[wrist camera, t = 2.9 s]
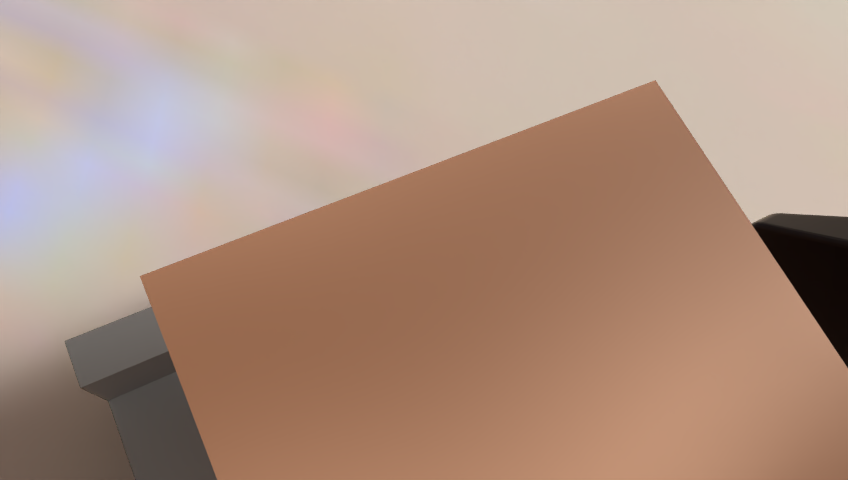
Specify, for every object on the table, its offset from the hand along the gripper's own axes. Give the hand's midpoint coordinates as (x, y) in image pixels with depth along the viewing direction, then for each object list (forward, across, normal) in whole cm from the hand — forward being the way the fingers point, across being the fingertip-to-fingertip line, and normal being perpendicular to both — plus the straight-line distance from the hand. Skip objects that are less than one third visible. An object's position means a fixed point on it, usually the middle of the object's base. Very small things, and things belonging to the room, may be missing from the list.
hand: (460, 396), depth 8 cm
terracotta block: (+5, 0, +6) cm, 7 cm away
